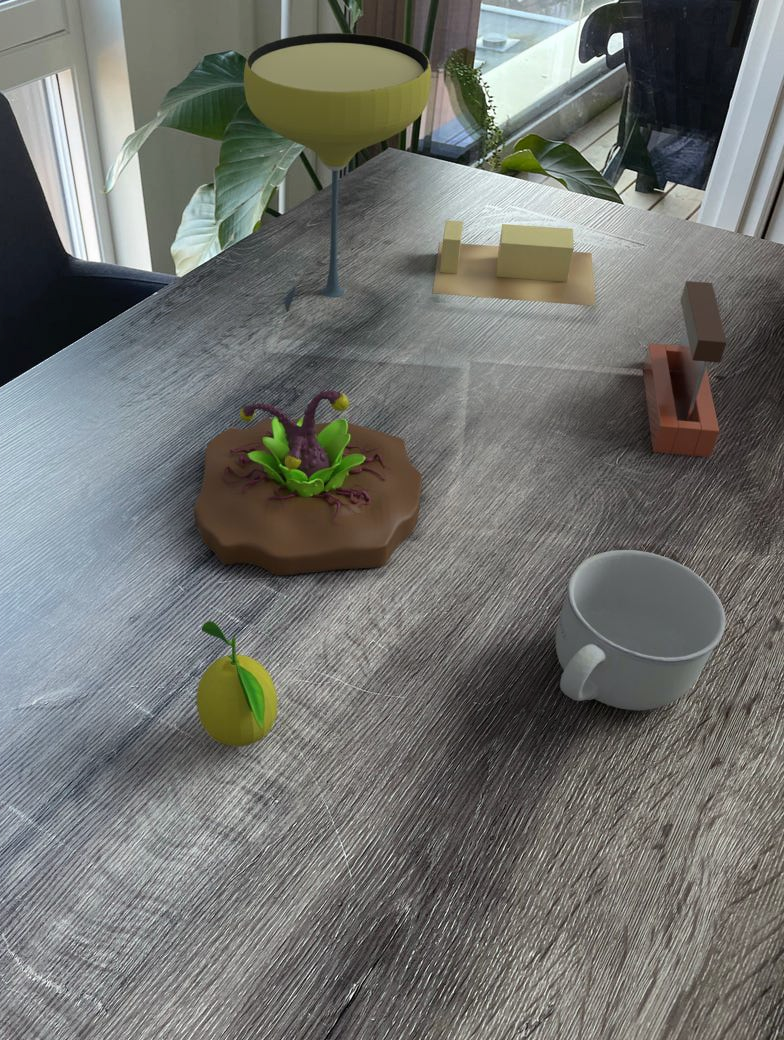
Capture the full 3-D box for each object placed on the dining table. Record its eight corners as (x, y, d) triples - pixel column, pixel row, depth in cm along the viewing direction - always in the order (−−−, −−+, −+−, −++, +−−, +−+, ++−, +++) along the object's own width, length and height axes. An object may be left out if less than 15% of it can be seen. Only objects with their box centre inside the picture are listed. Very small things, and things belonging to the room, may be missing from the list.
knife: (682, 381, 104) (712, 282, 97) (693, 444, 96) (727, 342, 89) (658, 379, 104) (686, 280, 97) (667, 441, 97) (698, 340, 89)
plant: (422, 583, 84) (434, 471, 76) (183, 572, 85) (171, 460, 77) (418, 441, 98) (429, 333, 90) (214, 433, 99) (206, 326, 91)
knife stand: (692, 378, 106) (701, 347, 103) (708, 463, 96) (719, 431, 93) (640, 374, 106) (648, 342, 104) (651, 458, 96) (660, 425, 94)
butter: (566, 262, 121) (572, 228, 118) (567, 282, 117) (573, 248, 114) (497, 257, 122) (502, 223, 119) (496, 276, 118) (501, 242, 115)
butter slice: (459, 254, 122) (463, 221, 119) (457, 274, 119) (461, 240, 116) (442, 253, 122) (445, 219, 119) (439, 272, 119) (443, 238, 116)
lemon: (208, 695, 76) (198, 595, 68) (286, 705, 75) (285, 606, 68) (185, 767, 71) (172, 668, 64) (268, 779, 70) (265, 680, 63)
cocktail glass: (341, 253, 126) (348, 21, 108) (446, 310, 116) (472, 65, 98) (220, 298, 118) (206, 56, 100) (321, 363, 108) (325, 107, 90)
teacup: (618, 606, 82) (642, 529, 77) (727, 691, 76) (762, 613, 70) (486, 680, 77) (501, 602, 71) (592, 777, 71) (617, 700, 65)
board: (589, 264, 124) (591, 252, 122) (593, 318, 115) (595, 305, 114) (438, 253, 125) (439, 241, 124) (430, 305, 117) (432, 292, 115)
